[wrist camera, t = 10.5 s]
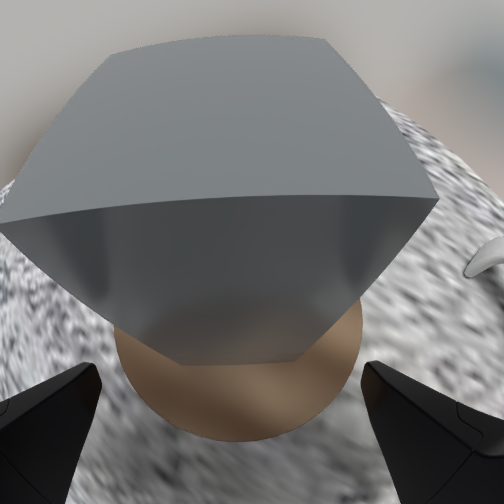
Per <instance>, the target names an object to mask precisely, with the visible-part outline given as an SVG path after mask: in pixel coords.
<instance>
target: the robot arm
mask: <svg viewBox="0 0 504 504" xmlns="http://www.w3.org/2000/svg"><path fill="white" fill-rule="evenodd" d="M101 389H102V381H101V379H100V376H99V373H98V370H97V368H96V366H95V364H93V363H89V362H83V363H81V364H79V365H77V366H75V367H73V368H70V369H68V370H66V371H64V372H62V373H60V374H58V375H56V376H54V377H52V378H50V379H48V380H46V381H44V382H42V383H40V384H38V385H36V386H34V387H32V388H29V389H27V390H25V391H23V392H21V393H19V394H17V395H15V396H13V397H11V398H8V399H6V400H4V401H2V402H0V504H65V502H66V498H67V495H68V492H69V488H70V485H71V482H72V478H73V475H74V472H75V469H76V466H77V463H78V460H79V457H80V454H81V452H82V449H83V446H84V443H85V440H86V438H87V435H88V432H89V430H90V427H91V424H92V421H93V418H94V414H95V411H96V407H97V403H98V400H99V396H100V393H101ZM361 389H362V393H363V397H364V400H365V404H366V408H367V412H368V415H369V419H370V422H371V425H372V428H373V431H374V433H375V436H376V438H377V441H378V443H379V446H380V448H381V451H382V454H383V456H384V459H385V461H386V464H387V467H388V469H389V472H390V475H391V477H392V480H393V483H394V486H395V488H396V491H397V494H398V497H399V500H400V503H401V504H504V420H502V419H499V418H496V417H494V416H491V415H488V414H485V413H483V412H480V411H477V410H475V409H473V408H471V407H468V406H466V405H464V404H462V403H460V402H458V401H457V402H456V401H455V400H454V399H452V398H450V397H448V396H446V395H444V394H442V393H440V392H438V391H436V390H434V389H432V388H430V387H428V386H426V385H424V384H422V383H420V382H418V381H416V380H414V379H412V378H410V377H408V376H406V375H404V374H402V373H401V372H399V371H397V370H395V369H393V368H391V367H389V366H387V365H385V364H383V363H382V362H380V361H377V360H376V361H370V362H367V363H366V364H365V366H364V370H363V374H362V378H361Z"/></svg>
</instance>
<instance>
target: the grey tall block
mask: <svg viewBox="0 0 504 504" xmlns="http://www.w3.org/2000/svg"><path fill="white" fill-rule="evenodd" d="M439 199H440V198H439V196H438V194H437V192H436V190H435V188H434V187H433V185H432V183H431V181H430V179H429V177H428V175H427V174H426V172H425V170H424V168H423V167H422V165H421V163H420V161H419V160H418V158H417V156H416V155H415V153H414V151H413V150H412V148H411V147H410V145H409V143H408V142H407V140H406V139H405V137H404V136H403V134H402V133H401V131H400V130H399V128H398V127H397V125H396V124H395V122H394V121H393V120H392V118H391V117H390V115H389V114H388V113H387V111H386V110H385V109H384V107H383V106H382V105H381V103H380V102H379V101H378V99H377V98H376V97H375V95H374V94H373V93H372V92H371V90H370V89H369V88H368V87H367V85H366V84H365V83H364V82H363V81H362V79H361V78H360V77H359V76H358V75H357V73H356V72H355V71H354V70H353V69H352V68H351V67H350V66H349V64H348V63H347V62H346V61H345V60H344V59H343V58H342V57H341V56H340V55H339V54H338V53H337V51H336V50H335V49H334V48H333V47H331V45H330V44H329V43H328V42H327V41H325V39H319V38H310V37H298V36H282V35H232V36H215V37H204V38H194V39H186V40H179V41H172V42H166V43H160V44H155V45H150V46H145V47H140V48H136V49H132V50H128V51H124V52H120V53H116V54H112V55H110V56H109V57H108V58H107V59H106V60H105V61H104V62H103V63H102V64H101V65H100V66H99V67H98V68H97V69H96V70H95V71H94V72H93V73H92V74H91V75H90V76H89V78H88V79H87V80H86V81H85V82H84V83H83V84H82V86H80V88H79V89H78V90H77V91H76V92H75V94H74V95H73V96H72V97H71V98H70V100H69V101H68V102H67V103H66V104H65V106H64V107H63V108H62V109H61V111H60V112H59V113H58V115H57V116H56V118H55V119H54V120H53V121H52V123H51V124H50V125H49V127H48V128H47V130H46V131H45V132H44V134H43V136H42V137H41V139H40V140H39V141H38V143H37V144H36V146H35V147H34V149H33V151H32V152H31V154H30V155H29V157H28V159H27V161H26V162H25V164H24V166H23V167H22V169H21V171H20V172H19V174H18V176H17V178H16V180H15V182H14V183H13V185H12V187H11V189H10V191H9V193H8V195H7V197H6V199H5V201H4V203H3V205H2V208H1V210H0V232H1V233H2V234H3V235H4V236H5V237H6V238H7V239H8V240H9V241H10V242H11V243H12V244H13V245H14V246H15V247H16V248H18V249H19V250H20V251H21V252H22V253H23V254H24V255H25V256H26V257H27V258H28V259H29V260H31V261H32V262H33V263H34V264H35V265H36V266H37V267H38V268H40V269H41V270H42V271H43V272H44V273H45V274H47V275H48V276H49V277H50V278H51V279H53V280H54V281H55V282H56V283H58V284H59V285H60V286H61V287H62V288H64V289H65V290H66V291H68V292H69V293H70V294H71V295H73V296H74V297H75V298H77V299H78V300H79V301H81V302H82V303H83V304H85V305H86V306H87V307H89V308H90V309H92V310H93V311H94V312H96V313H97V314H99V315H100V316H101V317H103V318H104V319H106V320H107V321H109V322H110V323H112V324H113V325H115V326H116V327H118V328H119V329H121V330H122V331H124V332H125V333H127V334H129V335H130V336H132V337H133V338H135V339H136V340H138V341H140V342H141V343H143V344H145V345H146V346H148V347H150V348H151V349H153V350H155V351H156V352H158V353H160V354H162V355H163V356H165V357H167V358H169V359H170V360H172V361H174V362H176V363H178V364H180V365H189V366H217V365H249V364H267V363H281V362H292V361H296V360H297V359H298V358H299V357H300V356H302V355H303V354H304V353H305V352H306V351H307V350H308V349H309V348H310V347H311V346H312V345H313V344H314V343H315V342H316V341H318V340H319V339H320V338H321V337H322V336H323V335H324V334H325V333H326V332H327V331H328V330H329V329H330V328H331V327H332V326H333V325H334V324H335V323H336V322H337V321H338V320H339V319H340V318H341V317H342V316H343V315H344V314H345V313H346V312H347V311H348V309H349V308H350V307H351V306H352V305H353V304H354V303H355V302H356V301H357V300H358V299H359V298H360V297H361V296H362V295H363V293H364V292H365V291H366V290H367V289H368V288H369V287H370V286H371V285H372V283H373V282H374V281H375V280H376V279H377V278H378V277H379V276H380V274H381V273H382V272H383V271H384V270H385V269H386V267H387V266H388V265H389V264H390V263H391V262H392V260H393V259H394V258H395V257H396V255H397V254H398V253H399V252H400V251H401V249H402V248H403V247H404V246H405V244H406V243H407V242H408V241H409V239H410V238H411V237H412V236H413V234H414V233H415V232H416V230H417V229H418V228H419V226H420V225H421V224H422V222H423V221H424V220H425V218H426V217H427V216H428V214H429V213H430V212H431V210H432V209H433V207H434V206H435V205H436V203H437V202H438V200H439Z"/></svg>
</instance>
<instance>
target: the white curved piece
mask: <svg viewBox="0 0 504 504" xmlns="http://www.w3.org/2000/svg"><path fill="white" fill-rule="evenodd" d="M502 263H504V236H503V237H499V238H495V239H493V240H491V241H489V242H488V243H486V244H485V245H483V246H482V247H481V248H480V249H479V251H478V252H477V253H476V255H475V256H474V258H473V259H472V260H471V262H470V263H469V265H468V266H467V268H466V269H465V272H464V273H465V276H466V277H468V278H470V277H474V276H476V275H478V274H479V273H481V272H483V271H484V270H486V269H488V268H490V267H491V266H494V265H497V264H502Z"/></svg>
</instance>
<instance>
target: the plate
mask: <svg viewBox="0 0 504 504" xmlns="http://www.w3.org/2000/svg"><path fill="white" fill-rule="evenodd" d="M362 326H363V319H362V307H361V302H360V298H359V299H358V300H357V301H356V302H355V303H354V304H353V305H352V306H351V307H350V308H349V309H348V311H347V312H346V313H345V314H344V315H343V316H342V317H341V318H340V319H339V320H338V321H337V322H336V323H335V324H334V325H333V326H332V327H331V328H330V329H329V330H328V331H327V332H326V333H325V334H324V335H323V336H322V337H321V338H320V339H319V340H318V341H316V342H315V343H314V344H313V345H312V346H311V347H310V348H309V349H308V350H307V351H306V352H305V353H304V354H303V355H302V356H300V357H299V358H298V359H297V360H296V361H292V362H281V363H267V364H249V365H217V366H189V365H180V364H178V363H176V362H174V361H172V360H170V359H169V358H167V357H165V356H163V355H162V354H160V353H158V352H156V351H155V350H153V349H151V348H150V347H148V346H146V345H145V344H143V343H141V342H140V341H138V340H136V339H135V338H133V337H132V336H130V335H129V334H127V333H125V332H124V331H122V330H121V329H119V328H118V327H116V326H115V325H114V336H115V342H116V347H117V352H118V355H119V358H120V362H121V365H122V367H123V369H124V371H125V373H126V375H127V377H128V379H129V381H130V383H131V384H132V386H133V387H134V389H135V390H136V392H137V393H138V395H139V396H140V397H141V398H142V399H143V400H144V401H145V402H146V404H147V405H148V406H149V407H150V408H151V409H152V410H154V411H155V412H156V413H157V414H159V415H160V416H161V417H162V418H164V419H165V420H166V421H168V422H170V423H171V424H173V425H175V426H177V427H178V428H180V429H182V430H185V431H187V432H189V433H192V434H194V435H197V436H201V437H204V438H209V439H213V440H218V441H228V442H247V441H257V440H262V439H267V438H272V437H275V436H278V435H281V434H283V433H286V432H289V431H291V430H293V429H295V428H297V427H299V426H301V425H302V424H304V423H306V422H308V421H309V420H310V419H312V418H313V417H314V416H316V415H317V414H318V413H320V412H321V411H322V410H323V409H324V408H325V407H326V406H327V405H328V404H329V403H330V402H331V401H332V400H333V399H334V398H335V397H336V395H337V394H338V393H339V391H340V390H341V389H342V387H343V386H344V385H345V383H346V381H347V379H348V377H349V376H350V374H351V372H352V370H353V367H354V365H355V362H356V359H357V356H358V353H359V349H360V344H361V339H362Z"/></svg>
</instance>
